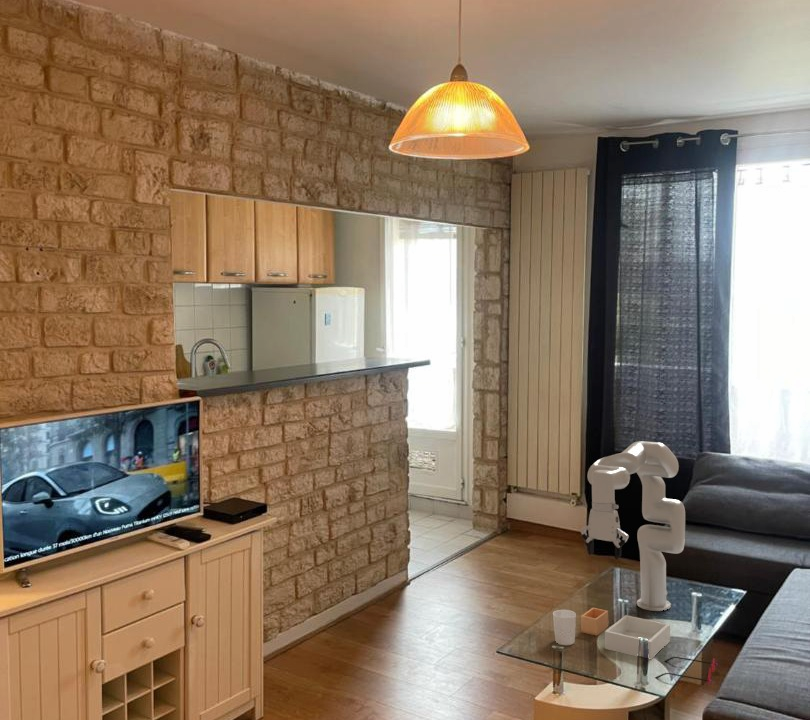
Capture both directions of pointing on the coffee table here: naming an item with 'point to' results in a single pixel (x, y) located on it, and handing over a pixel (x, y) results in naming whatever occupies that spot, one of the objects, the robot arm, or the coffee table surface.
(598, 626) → the orange crate
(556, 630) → the white cup
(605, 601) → the coffee table surface
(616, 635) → the box
